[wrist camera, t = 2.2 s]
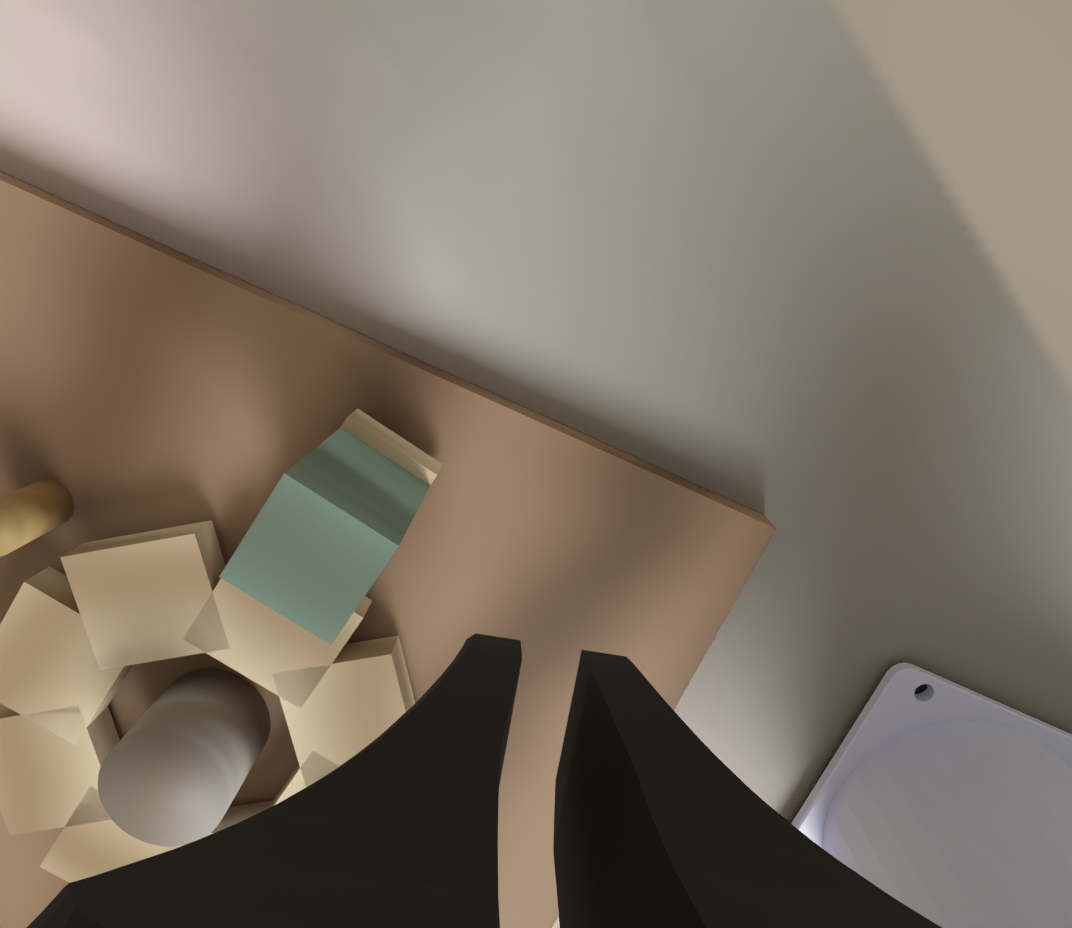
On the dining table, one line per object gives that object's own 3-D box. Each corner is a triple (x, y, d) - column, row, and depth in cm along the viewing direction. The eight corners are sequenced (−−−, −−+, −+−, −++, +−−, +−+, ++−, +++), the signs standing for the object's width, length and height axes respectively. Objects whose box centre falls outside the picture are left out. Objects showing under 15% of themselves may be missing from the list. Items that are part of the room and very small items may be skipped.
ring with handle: (286, 961, 23) (216, 1149, 18) (-67, 770, 22) (-245, 918, 17) (588, 559, 20) (601, 657, 15) (198, 303, 18) (73, 319, 14)
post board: (764, 515, 21) (814, 574, 17) (439, 1102, 26) (420, 1250, 22) (-61, 143, 19) (-218, 113, 15) (-238, 859, 24) (-390, 975, 20)
